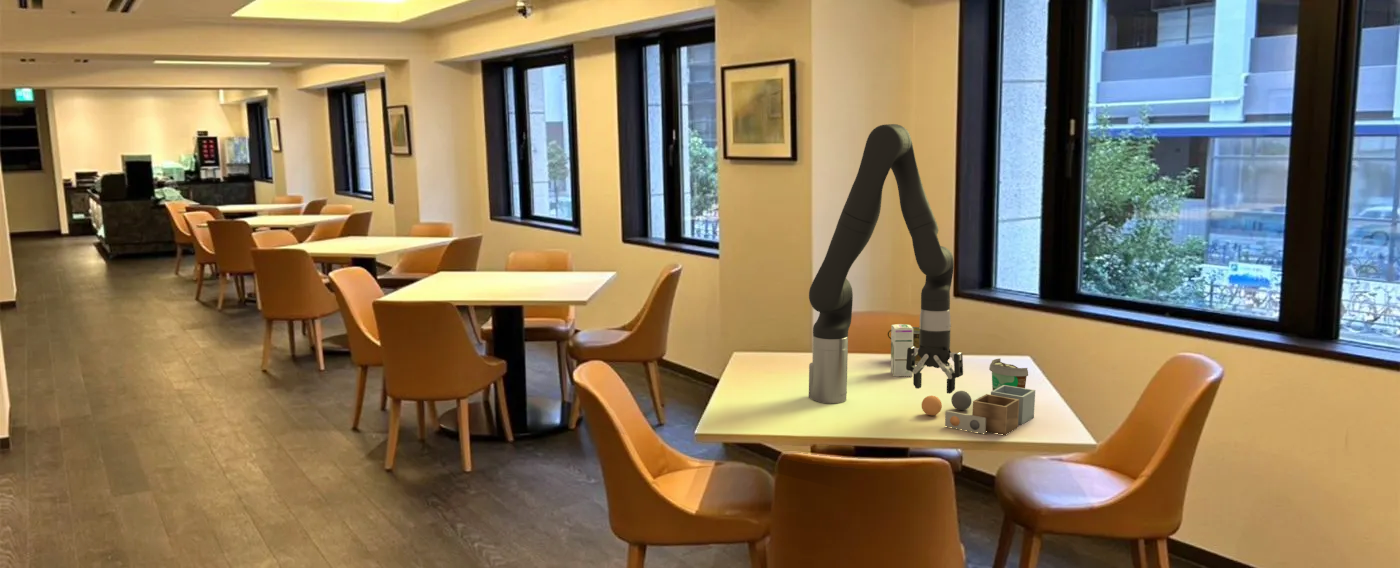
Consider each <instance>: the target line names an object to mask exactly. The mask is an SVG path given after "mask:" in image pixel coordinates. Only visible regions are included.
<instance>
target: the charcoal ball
mask: <svg viewBox="0 0 1400 568" xmlns="http://www.w3.org/2000/svg"><path fill="white" fill-rule="evenodd" d="M951 404H952V407H954V408H955V410H958V411H966V410H968V409H969V408H970V407H971V406H972V396H971V395H970V393H968V392H967V391H965V390H957V391H955V392H954V393H952V396H951Z"/></svg>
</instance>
